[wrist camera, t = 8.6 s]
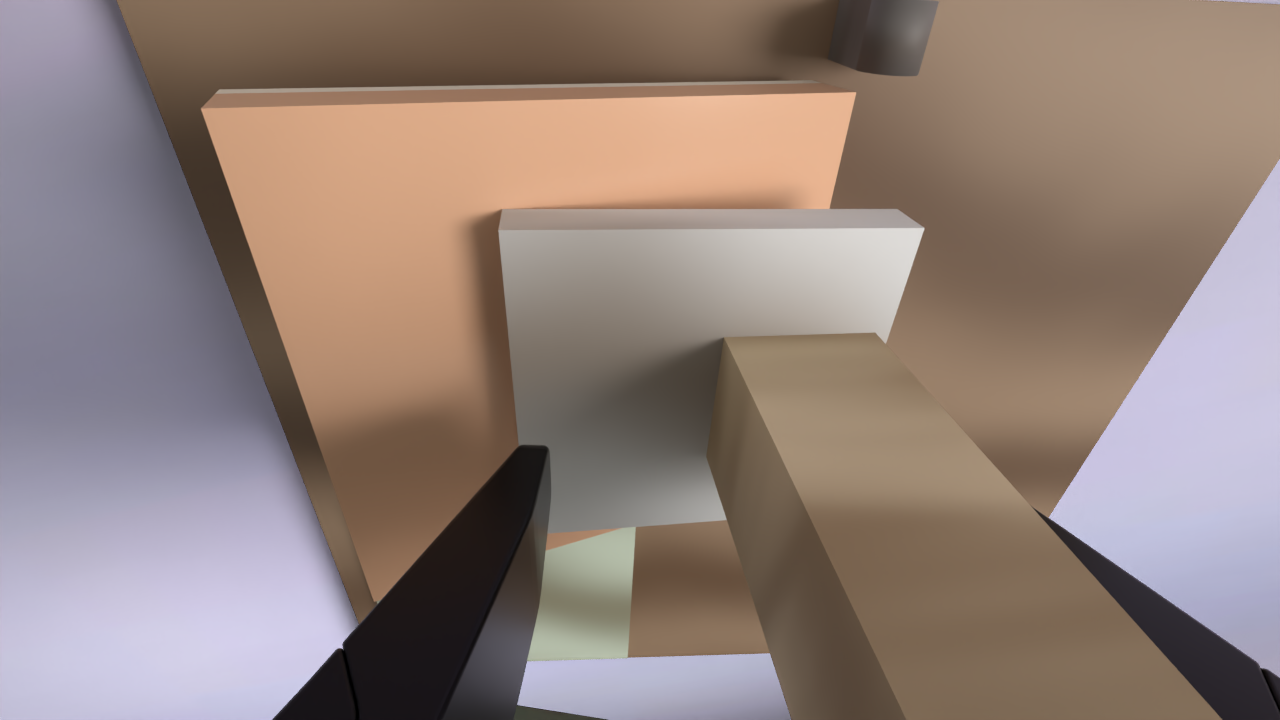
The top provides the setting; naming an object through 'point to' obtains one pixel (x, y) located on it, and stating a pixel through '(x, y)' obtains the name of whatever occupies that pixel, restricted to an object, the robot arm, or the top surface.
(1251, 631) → the top surface
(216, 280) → the top surface
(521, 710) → the first aid box
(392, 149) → the tile
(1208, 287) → the top surface
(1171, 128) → the board
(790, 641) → the stamp
